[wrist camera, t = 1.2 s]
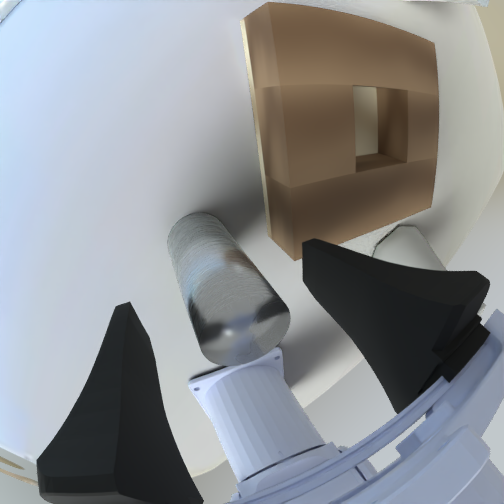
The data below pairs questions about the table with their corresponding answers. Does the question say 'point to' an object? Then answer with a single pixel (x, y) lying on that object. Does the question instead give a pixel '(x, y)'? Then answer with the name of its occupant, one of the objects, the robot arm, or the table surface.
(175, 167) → the table surface
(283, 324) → the pin
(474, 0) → the shot glass
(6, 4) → the calculator
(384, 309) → the robot arm
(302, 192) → the bore block
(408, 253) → the flask
